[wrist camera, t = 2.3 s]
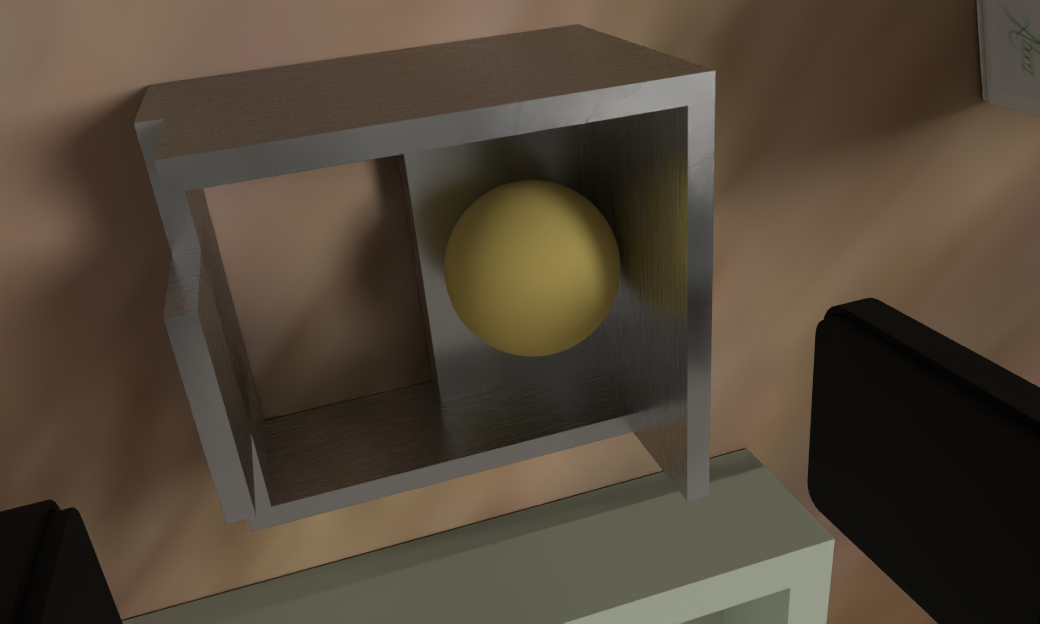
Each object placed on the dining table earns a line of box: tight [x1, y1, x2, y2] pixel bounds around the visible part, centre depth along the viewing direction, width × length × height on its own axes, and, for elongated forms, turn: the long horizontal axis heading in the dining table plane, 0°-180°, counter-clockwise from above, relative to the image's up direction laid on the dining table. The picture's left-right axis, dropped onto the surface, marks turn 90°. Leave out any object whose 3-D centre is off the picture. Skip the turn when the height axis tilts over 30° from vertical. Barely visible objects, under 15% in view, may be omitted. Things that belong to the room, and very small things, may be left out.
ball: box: [444, 180, 621, 357], centre depth 15 cm, size 3×3×3 cm
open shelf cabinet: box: [134, 25, 716, 532], centre depth 14 cm, size 7×7×5 cm
